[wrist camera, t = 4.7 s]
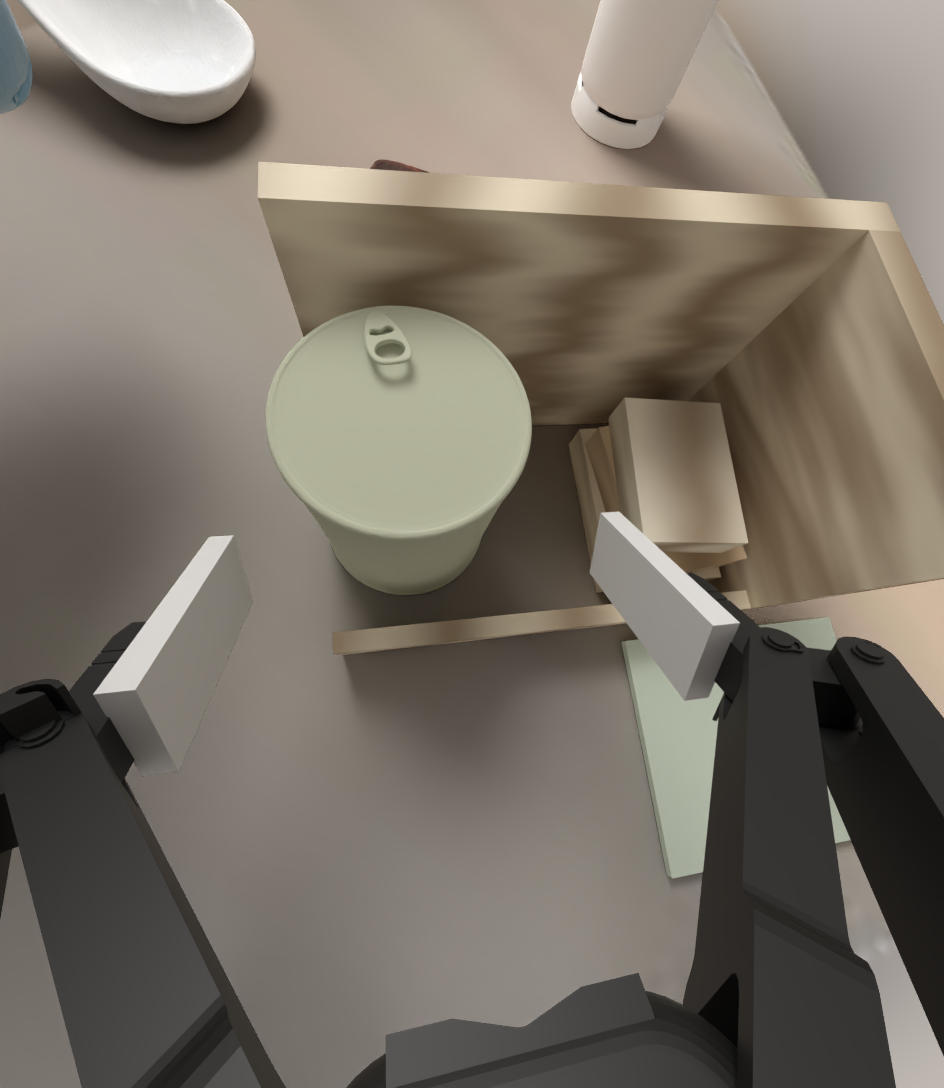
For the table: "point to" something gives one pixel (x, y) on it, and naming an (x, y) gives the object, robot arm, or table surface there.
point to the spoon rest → (156, 52)
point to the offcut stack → (664, 481)
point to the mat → (692, 749)
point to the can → (399, 440)
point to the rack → (666, 348)
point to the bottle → (636, 66)
